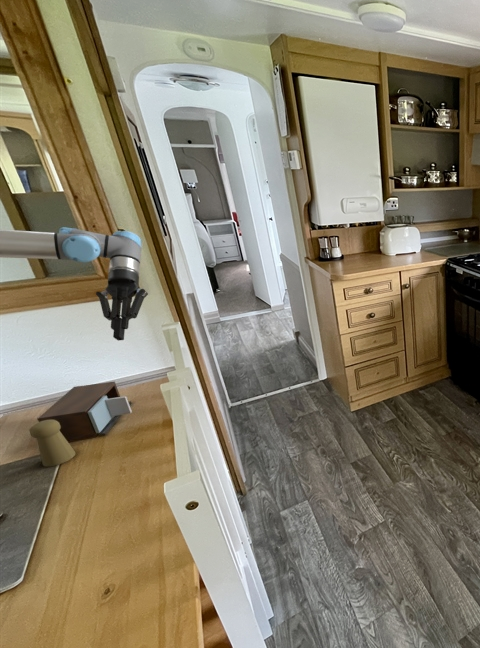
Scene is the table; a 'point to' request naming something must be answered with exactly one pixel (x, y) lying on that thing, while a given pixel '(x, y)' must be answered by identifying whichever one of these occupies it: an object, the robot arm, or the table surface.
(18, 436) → the table surface
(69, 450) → the cork
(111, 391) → the cabinet
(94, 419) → the sliding door
